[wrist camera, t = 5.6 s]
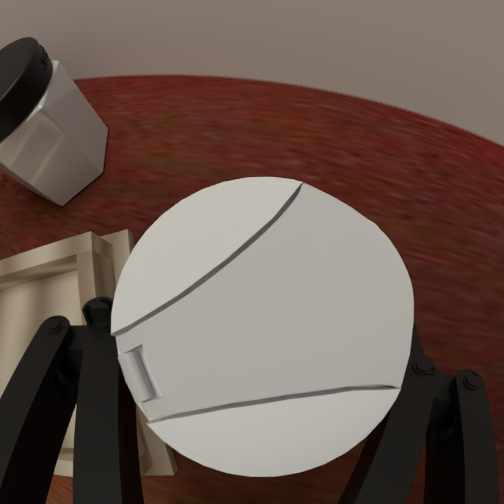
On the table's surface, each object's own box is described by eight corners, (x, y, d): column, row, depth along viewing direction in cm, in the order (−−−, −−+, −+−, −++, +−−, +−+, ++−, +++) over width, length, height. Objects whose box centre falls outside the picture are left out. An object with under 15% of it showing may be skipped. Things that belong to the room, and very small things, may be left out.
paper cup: (236, 409, 19) (174, 527, 5) (189, 300, 21) (60, 238, 7) (349, 359, 19) (479, 392, 6) (299, 252, 21) (342, 116, 8)
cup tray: (133, 233, 22) (108, 214, 18) (178, 469, 18) (159, 493, 14) (-21, 278, 22) (-50, 270, 19) (5, 455, 18) (-23, 463, 14)
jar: (129, 132, 25) (63, 31, 13) (79, 217, 23) (-23, 142, 11) (64, 117, 26) (0, 39, 14) (21, 188, 24) (-63, 126, 13)
